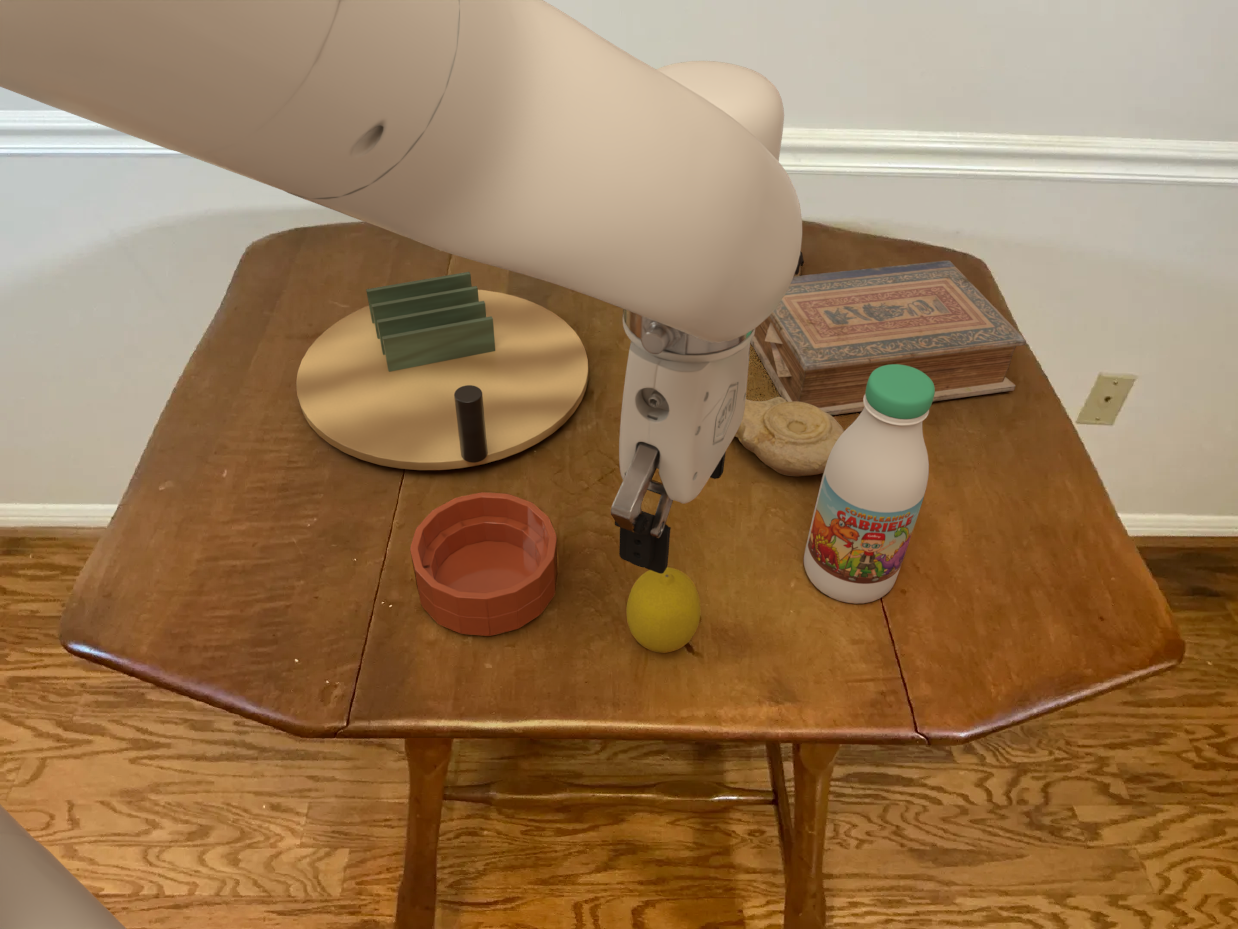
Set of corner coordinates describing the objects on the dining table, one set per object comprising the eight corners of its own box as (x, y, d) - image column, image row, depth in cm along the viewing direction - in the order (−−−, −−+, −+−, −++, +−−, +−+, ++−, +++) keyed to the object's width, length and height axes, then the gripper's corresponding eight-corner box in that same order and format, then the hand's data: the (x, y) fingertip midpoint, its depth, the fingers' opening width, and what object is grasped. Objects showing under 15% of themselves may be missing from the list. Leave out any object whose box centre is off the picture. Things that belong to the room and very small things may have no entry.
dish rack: (633, 434, 90) (636, 366, 84) (321, 507, 82) (302, 437, 76) (539, 277, 110) (537, 214, 105) (282, 323, 102) (265, 257, 97)
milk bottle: (790, 542, 82) (831, 353, 68) (874, 532, 83) (931, 344, 69) (820, 612, 76) (871, 421, 62) (910, 600, 77) (979, 410, 64)
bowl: (512, 660, 72) (508, 619, 68) (390, 607, 75) (381, 565, 72) (580, 561, 79) (580, 520, 76) (467, 517, 83) (462, 476, 79)
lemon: (626, 673, 71) (629, 606, 66) (623, 615, 75) (626, 547, 70) (699, 672, 71) (709, 605, 66) (692, 614, 75) (701, 546, 70)
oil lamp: (693, 412, 94) (697, 372, 91) (837, 422, 94) (847, 381, 90) (691, 486, 86) (696, 445, 83) (849, 496, 86) (860, 456, 83)
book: (1033, 340, 93) (794, 369, 89) (1012, 394, 98) (784, 424, 93) (950, 254, 106) (737, 276, 101) (936, 306, 110) (731, 329, 105)
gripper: (693, 410, 46) (673, 627, 57) (803, 246, 57) (767, 455, 69) (556, 367, 48) (564, 584, 60) (688, 218, 59) (673, 424, 71)
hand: (673, 514), depth 64 cm, fingers open, 9 cm apart
